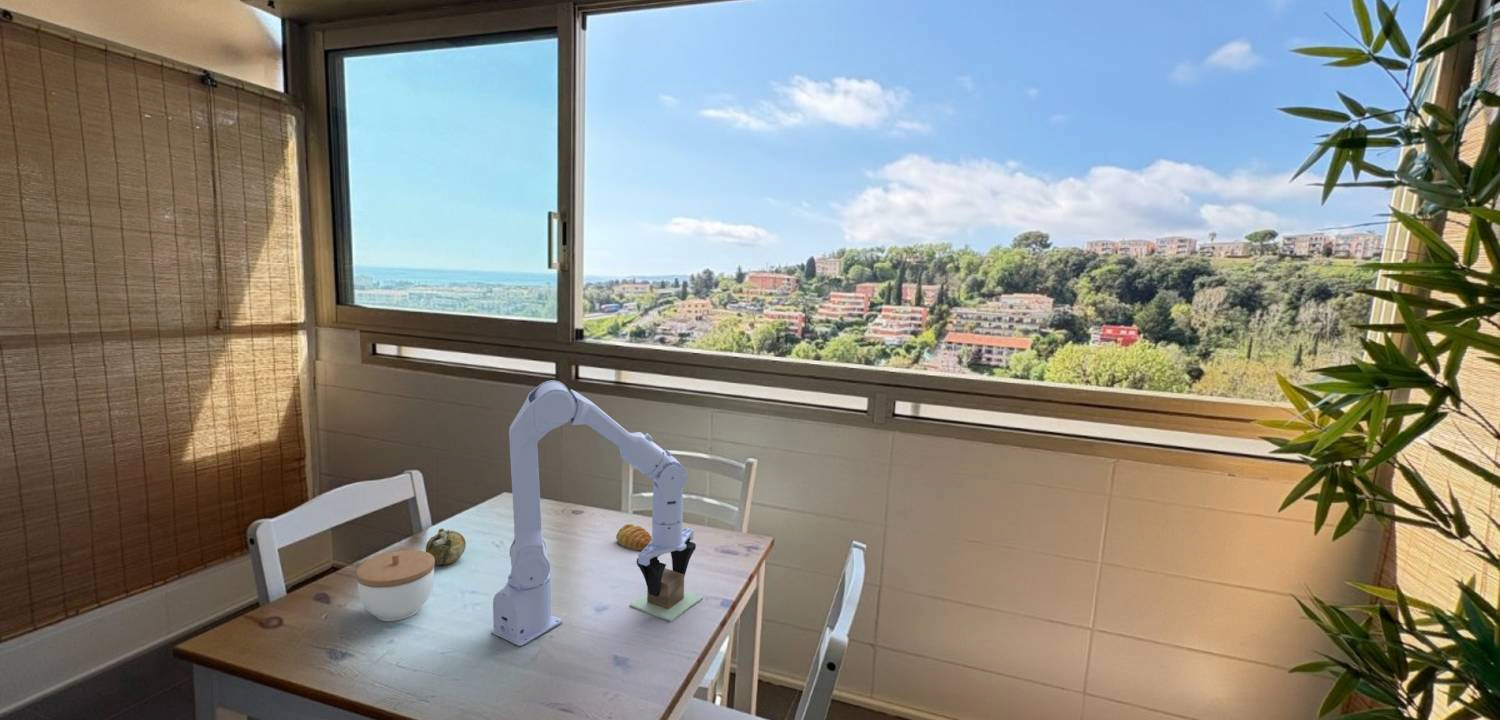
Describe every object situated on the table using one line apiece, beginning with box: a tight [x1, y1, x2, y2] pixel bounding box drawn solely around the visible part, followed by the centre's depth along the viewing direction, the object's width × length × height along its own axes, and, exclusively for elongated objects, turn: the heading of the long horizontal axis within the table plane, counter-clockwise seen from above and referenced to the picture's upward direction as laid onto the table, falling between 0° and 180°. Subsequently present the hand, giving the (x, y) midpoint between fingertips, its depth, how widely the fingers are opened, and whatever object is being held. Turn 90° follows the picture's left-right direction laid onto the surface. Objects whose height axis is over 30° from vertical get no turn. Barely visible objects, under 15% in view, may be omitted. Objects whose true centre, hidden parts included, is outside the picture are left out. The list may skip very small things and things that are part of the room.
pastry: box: [615, 523, 652, 552], centre depth 150 cm, size 9×7×4 cm
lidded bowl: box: [355, 549, 436, 622], centre depth 117 cm, size 13×13×11 cm
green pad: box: [629, 590, 704, 622], centre depth 124 cm, size 10×10×1 cm
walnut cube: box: [646, 567, 685, 609], centre depth 124 cm, size 5×5×5 cm
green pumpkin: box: [425, 528, 467, 566], centre depth 138 cm, size 8×8×8 cm
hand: (666, 586), depth 123 cm, fingers open, 7 cm apart
